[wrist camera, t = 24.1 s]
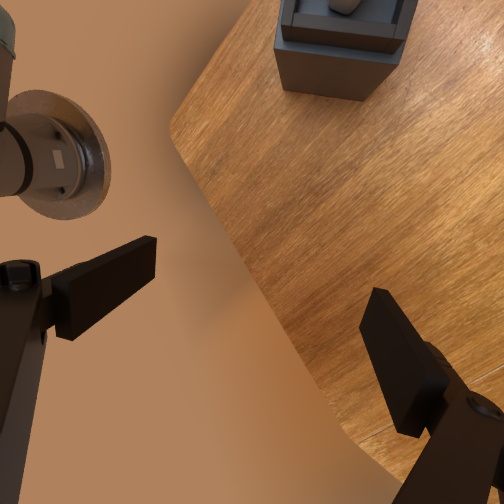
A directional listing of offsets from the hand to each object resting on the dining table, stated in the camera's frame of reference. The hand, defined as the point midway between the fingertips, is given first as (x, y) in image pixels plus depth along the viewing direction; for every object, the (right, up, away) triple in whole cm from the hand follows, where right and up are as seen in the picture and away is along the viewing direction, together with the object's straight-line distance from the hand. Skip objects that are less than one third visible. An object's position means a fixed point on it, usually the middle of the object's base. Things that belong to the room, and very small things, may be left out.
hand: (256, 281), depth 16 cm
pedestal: (+11, +31, +22) cm, 39 cm away
